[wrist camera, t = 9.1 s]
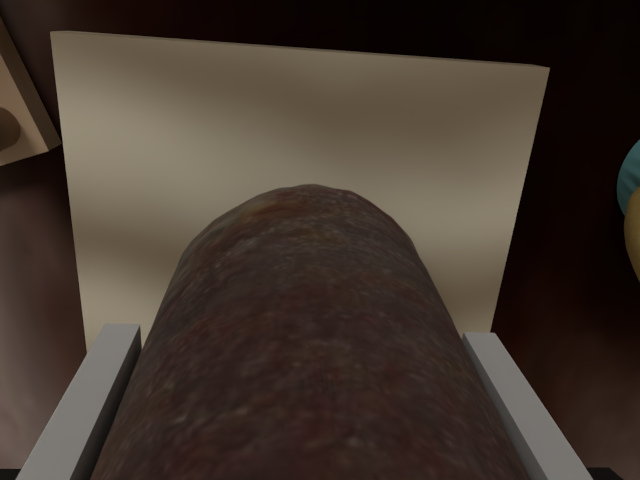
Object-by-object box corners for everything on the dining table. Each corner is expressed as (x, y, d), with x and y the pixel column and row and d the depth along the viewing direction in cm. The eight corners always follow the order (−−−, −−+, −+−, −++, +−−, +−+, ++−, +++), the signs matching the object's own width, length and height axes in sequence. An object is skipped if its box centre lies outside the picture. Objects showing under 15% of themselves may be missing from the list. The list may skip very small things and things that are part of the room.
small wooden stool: (97, 28, 18) (49, 31, 14) (498, 58, 19) (549, 68, 15) (126, 371, 23) (96, 438, 20) (437, 376, 24) (465, 440, 21)
